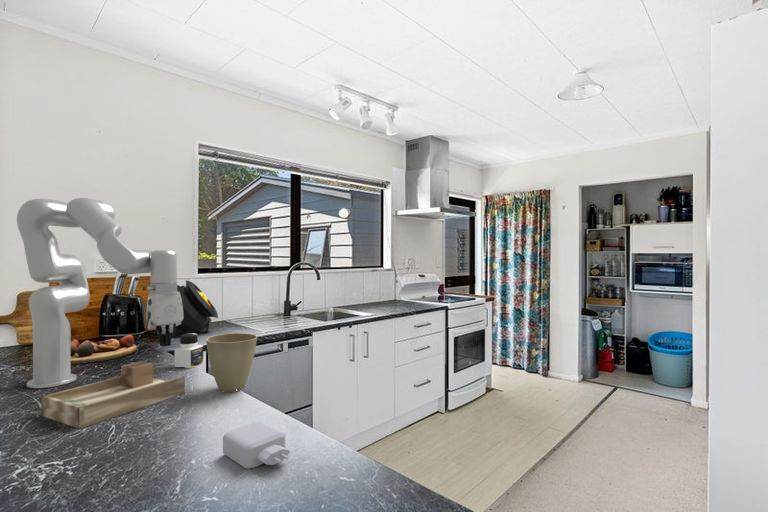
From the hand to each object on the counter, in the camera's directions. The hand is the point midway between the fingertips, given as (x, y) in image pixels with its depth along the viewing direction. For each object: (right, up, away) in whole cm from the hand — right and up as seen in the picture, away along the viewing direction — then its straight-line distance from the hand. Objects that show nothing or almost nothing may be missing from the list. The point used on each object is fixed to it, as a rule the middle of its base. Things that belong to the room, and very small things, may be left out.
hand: (165, 345), depth 129 cm
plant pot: (+23, -13, -4) cm, 27 cm away
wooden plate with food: (-53, -14, +40) cm, 68 cm away
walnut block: (-4, -10, -8) cm, 13 cm away
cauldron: (-36, -14, +87) cm, 95 cm away
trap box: (-4, -13, -17) cm, 21 cm away
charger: (+46, -13, -48) cm, 68 cm away
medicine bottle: (-3, -13, +23) cm, 26 cm away
